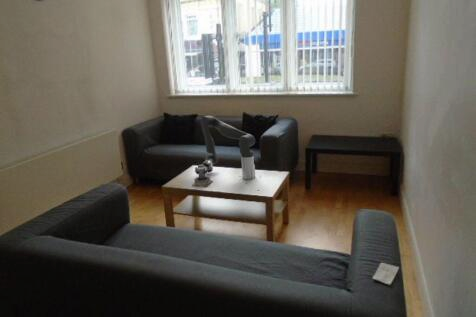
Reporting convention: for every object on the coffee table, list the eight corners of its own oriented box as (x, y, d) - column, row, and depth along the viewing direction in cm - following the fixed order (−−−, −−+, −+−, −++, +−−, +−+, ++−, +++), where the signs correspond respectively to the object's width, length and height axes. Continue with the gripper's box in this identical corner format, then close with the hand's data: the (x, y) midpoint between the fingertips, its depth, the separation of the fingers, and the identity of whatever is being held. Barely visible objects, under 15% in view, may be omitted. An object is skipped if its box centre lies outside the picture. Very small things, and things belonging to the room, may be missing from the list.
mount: (213, 181, 283) (212, 176, 282) (206, 187, 272) (206, 182, 271) (199, 180, 287) (198, 175, 286) (191, 186, 276) (191, 180, 275)
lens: (206, 179, 281) (205, 164, 277) (204, 182, 276) (202, 166, 273) (200, 179, 282) (199, 164, 279) (197, 181, 278) (196, 166, 274)
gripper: (197, 161, 291) (190, 168, 275) (215, 161, 288) (209, 168, 272) (198, 170, 293) (191, 177, 277) (215, 170, 290) (210, 177, 274)
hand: (200, 173), depth 275 cm, fingers closed on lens, 5 cm apart
